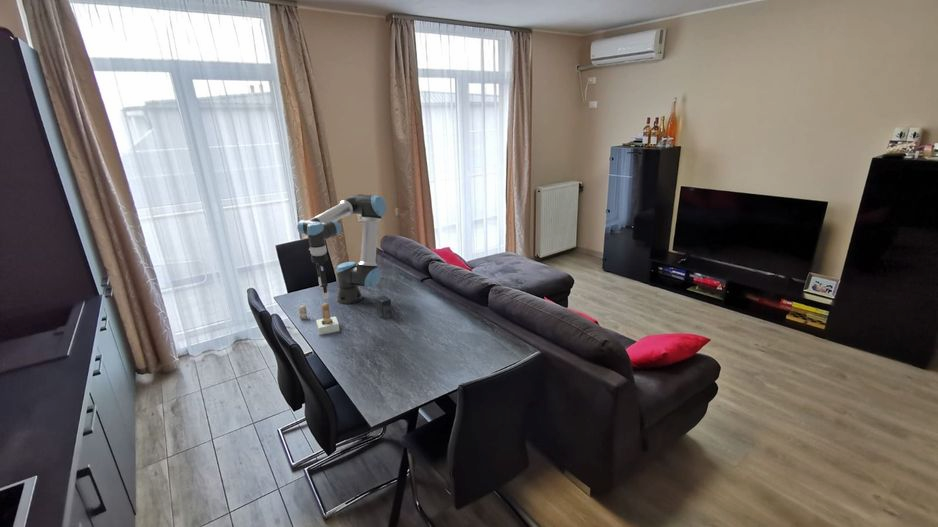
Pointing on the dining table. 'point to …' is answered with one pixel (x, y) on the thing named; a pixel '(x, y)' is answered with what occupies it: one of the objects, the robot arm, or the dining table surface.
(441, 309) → the dining table surface
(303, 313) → the short pin
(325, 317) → the long pin
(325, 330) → the hole block
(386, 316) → the box
